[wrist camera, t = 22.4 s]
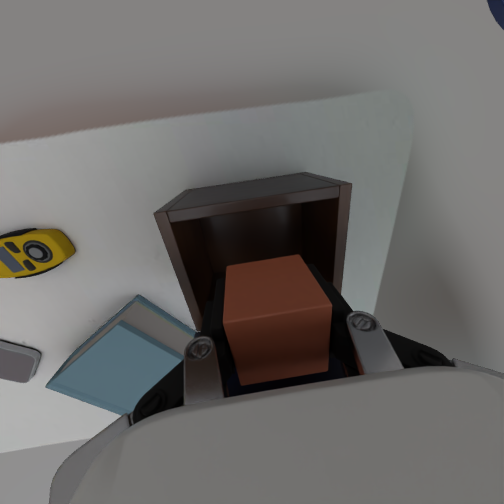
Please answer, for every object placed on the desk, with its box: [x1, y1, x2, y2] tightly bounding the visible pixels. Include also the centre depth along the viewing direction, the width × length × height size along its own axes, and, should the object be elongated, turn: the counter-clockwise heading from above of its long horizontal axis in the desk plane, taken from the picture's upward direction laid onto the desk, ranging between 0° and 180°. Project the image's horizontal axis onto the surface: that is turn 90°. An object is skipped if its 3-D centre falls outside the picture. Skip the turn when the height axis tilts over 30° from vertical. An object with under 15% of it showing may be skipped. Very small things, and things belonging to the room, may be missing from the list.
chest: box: [154, 172, 352, 332], centre depth 18 cm, size 11×13×9 cm
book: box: [46, 294, 196, 415], centre depth 29 cm, size 23×16×5 cm
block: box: [223, 254, 332, 386], centre depth 11 cm, size 4×4×4 cm
